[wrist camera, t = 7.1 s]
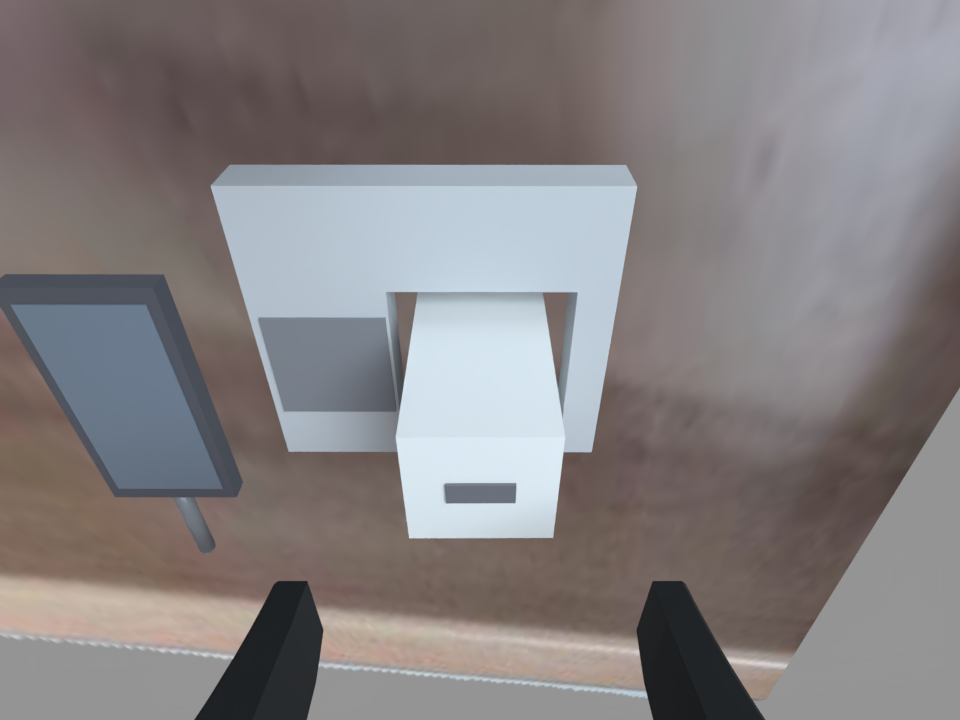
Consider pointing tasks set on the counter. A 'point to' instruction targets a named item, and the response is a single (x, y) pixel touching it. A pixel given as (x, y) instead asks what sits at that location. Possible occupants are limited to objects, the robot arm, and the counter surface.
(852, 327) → the counter surface
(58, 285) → the grey flat paddle piece
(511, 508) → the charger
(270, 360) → the outlet plate
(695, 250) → the counter surface
